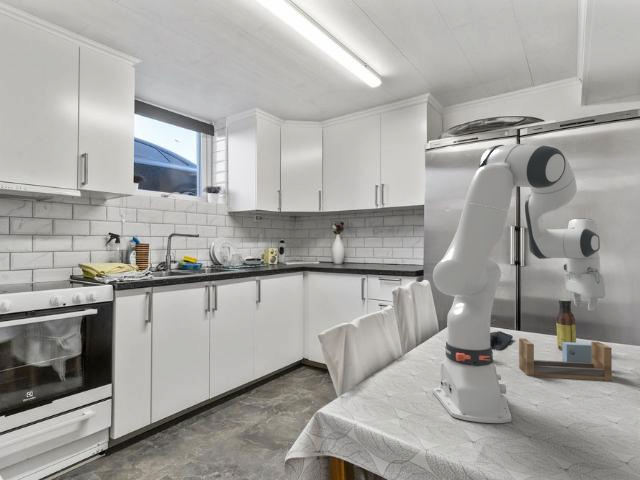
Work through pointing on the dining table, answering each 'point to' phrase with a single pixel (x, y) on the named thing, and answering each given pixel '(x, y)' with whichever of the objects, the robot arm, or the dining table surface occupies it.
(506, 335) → the dark grey flat piece
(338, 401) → the dining table surface
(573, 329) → the sauce bottle
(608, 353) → the wooden rack
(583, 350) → the door panel
